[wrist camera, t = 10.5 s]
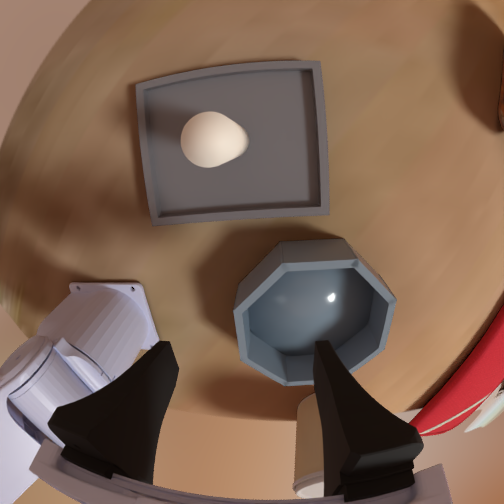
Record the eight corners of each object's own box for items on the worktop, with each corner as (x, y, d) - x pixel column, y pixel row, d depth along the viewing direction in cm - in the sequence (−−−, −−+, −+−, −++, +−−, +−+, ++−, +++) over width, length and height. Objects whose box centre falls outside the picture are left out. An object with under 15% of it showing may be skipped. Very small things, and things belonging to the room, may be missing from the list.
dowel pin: (215, 160, 18) (183, 170, 11) (212, 125, 17) (178, 116, 10) (250, 156, 18) (239, 164, 11) (247, 121, 17) (234, 107, 10)
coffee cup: (283, 423, 31) (283, 501, 20) (301, 381, 27) (308, 478, 16) (347, 423, 31) (359, 495, 20) (375, 383, 27) (399, 466, 16)
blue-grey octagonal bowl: (247, 357, 26) (244, 387, 23) (233, 243, 22) (226, 265, 18) (366, 349, 25) (376, 376, 21) (384, 236, 20) (404, 255, 17)
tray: (159, 220, 21) (152, 226, 20) (144, 87, 17) (135, 84, 16) (325, 209, 20) (329, 215, 19) (316, 66, 16) (320, 60, 14)
